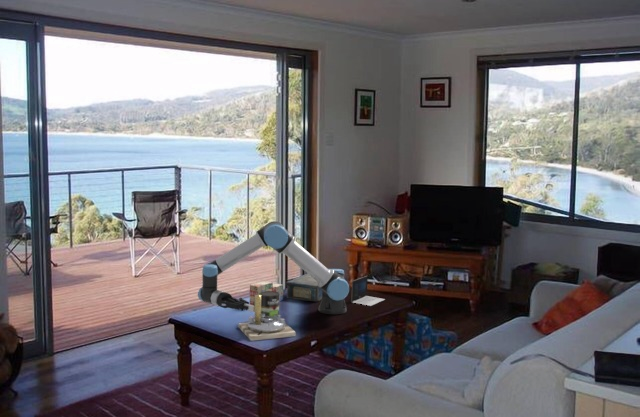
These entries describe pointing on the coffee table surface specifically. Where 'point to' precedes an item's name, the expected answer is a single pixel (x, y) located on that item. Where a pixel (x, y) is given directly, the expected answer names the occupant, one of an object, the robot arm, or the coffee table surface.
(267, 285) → the stack of blocks
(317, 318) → the coffee table surface
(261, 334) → the base board
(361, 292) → the laptop
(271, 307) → the coffee can
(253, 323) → the disc stand with rod
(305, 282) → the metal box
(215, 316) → the coffee table surface
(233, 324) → the coffee table surface
